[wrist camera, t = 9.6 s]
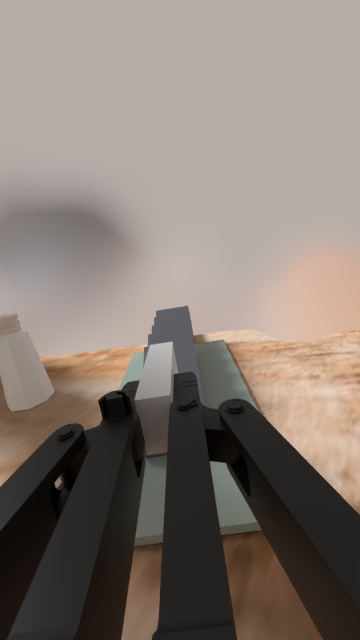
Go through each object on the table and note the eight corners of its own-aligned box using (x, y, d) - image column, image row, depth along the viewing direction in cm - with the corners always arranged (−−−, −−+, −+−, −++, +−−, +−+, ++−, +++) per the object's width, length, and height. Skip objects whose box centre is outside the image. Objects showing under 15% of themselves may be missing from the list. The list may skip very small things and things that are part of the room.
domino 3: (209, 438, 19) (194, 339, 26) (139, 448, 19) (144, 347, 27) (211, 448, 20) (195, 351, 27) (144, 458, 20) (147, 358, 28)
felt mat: (310, 524, 14) (309, 515, 14) (53, 556, 15) (50, 548, 15) (223, 343, 41) (223, 339, 41) (134, 356, 42) (134, 353, 42)
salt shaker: (12, 396, 35) (-18, 316, 32) (56, 383, 37) (32, 306, 34) (2, 418, 30) (-34, 325, 27) (53, 402, 32) (25, 313, 29)
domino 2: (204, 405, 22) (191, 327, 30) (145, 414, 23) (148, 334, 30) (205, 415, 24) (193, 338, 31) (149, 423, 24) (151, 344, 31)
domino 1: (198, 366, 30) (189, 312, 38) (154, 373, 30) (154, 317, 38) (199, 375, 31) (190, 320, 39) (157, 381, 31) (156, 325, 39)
